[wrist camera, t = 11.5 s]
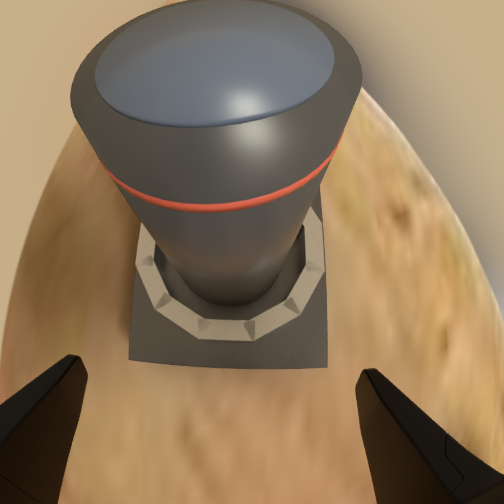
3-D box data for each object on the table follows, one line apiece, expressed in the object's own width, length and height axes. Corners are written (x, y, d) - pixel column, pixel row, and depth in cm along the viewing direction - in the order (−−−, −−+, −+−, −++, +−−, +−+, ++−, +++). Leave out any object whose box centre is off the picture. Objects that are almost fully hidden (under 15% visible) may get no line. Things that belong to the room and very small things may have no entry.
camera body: (316, 365, 18) (335, 368, 14) (142, 359, 17) (118, 360, 14) (309, 181, 22) (322, 149, 18) (162, 177, 22) (149, 145, 18)
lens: (228, 329, 16) (184, 242, 3) (156, 252, 17) (36, 72, 5) (304, 254, 17) (411, 64, 5) (231, 188, 19) (226, -20, 6)
